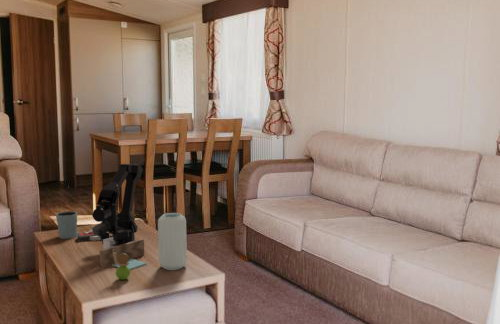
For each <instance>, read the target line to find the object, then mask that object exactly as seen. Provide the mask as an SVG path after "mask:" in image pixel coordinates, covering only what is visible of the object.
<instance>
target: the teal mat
mask: <svg viewBox="0 0 500 324" xmlns="http://www.w3.org/2000/svg"><path fill="white" fill-rule="evenodd" d="M128 263H129V265H127V267H128V268H129V269H130V271H131V270H134V269H137V268H141V267H144V266H146V265H147V262H143V261H141V260H137V259H134V258H131V259H129V261H128ZM111 266H112V267H114V268H118V267H120V266H119V265H117V264H116V263H115V264H112V265H111Z"/></svg>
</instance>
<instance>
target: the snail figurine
mask: <svg viewBox="0 0 500 324" xmlns="http://www.w3.org/2000/svg"><path fill="white" fill-rule="evenodd" d="M112 251H114V249H113V250H112ZM113 257H114V260H115V263H116V264H117V265H119V266H120V267H118V268H117V267H116V268H117V269H116V270H115V275H116V277H117V278H118V279H119V280H121V281H122V280H126V279H128V278H129V277H130V275H131V270H130V269H129V268H128V267H127V265H129V263H128V261H129V256H128V255H127V254H125V253H122V254H120V255H119V256H118V258H117V257H116V253H115V252H113Z"/></svg>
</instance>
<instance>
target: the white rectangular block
mask: <svg viewBox="0 0 500 324" xmlns="http://www.w3.org/2000/svg"><path fill="white" fill-rule="evenodd" d="M102 246H103V249H107V248H111V247H114V246H116V245H115V241H114V240H113V237H111V238H107V239H103V244H102ZM103 249H102V250H103Z"/></svg>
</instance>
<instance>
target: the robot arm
mask: <svg viewBox="0 0 500 324" xmlns="http://www.w3.org/2000/svg"><path fill="white" fill-rule="evenodd" d="M142 173H143V166H141V165H140V164H139V163H121V164H119V166H118V168H117V171H116V173H115V174H114V175H113V178H112V179H111V181H110V182H109V183H108V184H106V185H104V186H103V188H102V189H101V190H100V192H99V196H98V199H97V202H96V206H95V207H96V209H93V211H92V214H91V215H92V218H93V220H94V221H96V222H99V223H98V224H96V225H95V226H93V227H92V228H91V230H92V231H91V232H93V233H94V235H97V236H99V237H100V239H101V240H100V242H101V244H102V245H103V239H107V238H109V236H110V235H112V236H113V240H114V241H115V245H116V246H118V245H121V244H125V243H129V242H132V241H136V240H135V233H137V231H138V225H137V223H136V222H135V216H134V214H133V207H134V206H133V205H134V200H135V194H136V187H137V183H138V182H139V180H140V179H141V177H142ZM124 182H125V185H124V191H123V192H124V193H123V199H122V200H123V201H122V204H121V211H120V212H119V213H118V212H117V211H118V210H117V207H118V206H117V205H119V202H118V200H119V197H120V194H121V191H120V190H121V187H122V185H123V183H124Z"/></svg>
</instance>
